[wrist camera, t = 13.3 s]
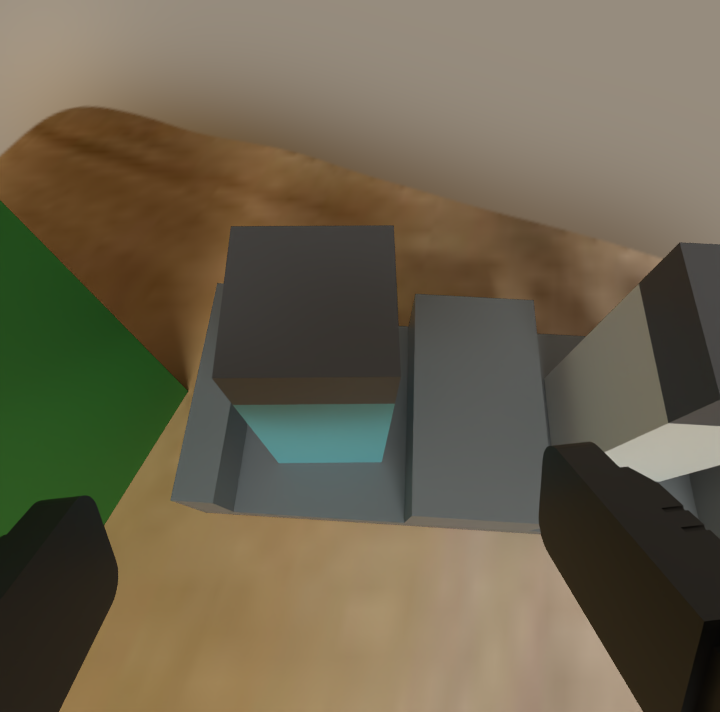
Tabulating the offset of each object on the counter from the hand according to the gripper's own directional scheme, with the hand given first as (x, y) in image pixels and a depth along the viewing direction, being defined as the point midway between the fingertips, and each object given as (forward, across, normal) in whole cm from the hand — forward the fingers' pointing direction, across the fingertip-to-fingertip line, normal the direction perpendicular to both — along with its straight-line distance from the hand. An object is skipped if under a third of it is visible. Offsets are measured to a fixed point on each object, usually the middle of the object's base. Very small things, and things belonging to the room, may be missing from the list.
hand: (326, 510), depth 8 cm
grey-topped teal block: (+12, 0, +4) cm, 13 cm away
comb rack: (+12, -6, +6) cm, 14 cm away
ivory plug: (+10, -12, +6) cm, 17 cm away
